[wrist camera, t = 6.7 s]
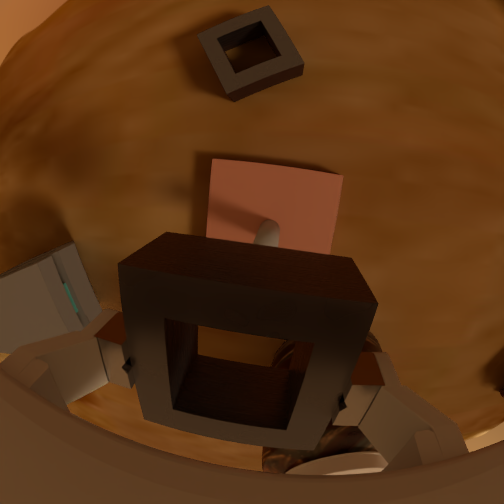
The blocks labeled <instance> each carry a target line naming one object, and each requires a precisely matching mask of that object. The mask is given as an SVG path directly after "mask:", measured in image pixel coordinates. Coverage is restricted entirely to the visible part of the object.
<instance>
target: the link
mask: <svg viewBox="0 0 504 504" xmlns="http://www.w3.org/2000/svg"><path fill="white" fill-rule="evenodd" d="M118 273H119V284H120V294H121V303H122V311H123V319H124V326H125V332H126V338H127V343H128V348H129V353H130V361H131V366H132V369H133V374H134V378H135V385H136V389H137V393H138V397H139V401H140V405H141V409H142V413H143V416H144V419H145V420H148V421H151V422H155V423H158V424H161V425H164V426H168V427H171V428H175V429H178V430H182V431H186V432H190V433H194V434H198V435H202V436H206V437H211V438H216V439H221V440H226V441H231V442H237V443H243V444H250V445H257V446H265V447H273V448H283V449H296V450H314V449H315V448H316V446H317V444H318V442H319V440H320V439H321V437H322V435H323V433H324V431H325V429H326V427H327V426H328V424H329V422H330V420H331V418H332V416H333V414H334V411H335V409H336V407H337V405H338V404H339V402H340V399H341V397H342V395H343V392H344V390H345V388H346V386H347V384H348V381H349V379H350V377H351V375H352V373H353V370H354V368H355V366H356V363H357V361H358V358H359V356H360V353H361V351H362V348H363V346H364V343H365V340H366V338H367V335H368V332H369V330H370V327H371V324H372V321H373V318H374V315H375V312H376V309H377V306H378V302H377V300H376V298H375V297H374V295H373V293H372V291H371V290H370V288H369V286H368V285H367V283H366V281H365V279H364V278H363V276H362V274H361V273H360V271H359V269H358V268H357V266H356V264H355V263H354V261H353V259H352V258H348V257H342V256H335V255H328V254H321V253H314V252H308V251H301V250H294V249H287V248H280V247H273V246H266V245H259V244H252V243H244V242H237V241H230V240H223V239H216V238H208V237H201V236H194V235H186V234H179V233H171V232H165V233H164V234H162V235H161V236H159V237H158V238H156V239H154V240H153V241H151V242H150V243H148V244H147V245H145V246H144V247H142V248H141V249H139V250H137V251H136V252H134V253H133V254H131V255H130V256H128V257H127V258H125V259H124V260H123V261H121V262H120V263H118ZM198 325H201V326H206V327H211V328H216V329H222V330H227V331H233V332H239V333H245V334H251V335H258V336H264V337H271V338H278V339H286V340H294V341H296V343H295V347H294V351H293V355H292V359H291V363H290V367H289V370H288V369H280V368H272V367H265V366H258V365H252V364H246V363H240V362H234V361H228V360H223V359H218V358H213V357H208V356H203V355H198Z"/></svg>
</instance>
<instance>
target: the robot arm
mask: <svg viewBox="0 0 504 504" xmlns="http://www.w3.org/2000/svg"><path fill="white" fill-rule="evenodd" d="M108 381H109V382H111V383H114V384H117V385H120V386H123V387H126V388H130V389H131V388H132V387H133V385H134V383H135V378H134V374H133V369H132V366H131V361H130V353H129V348H128V343H127V338H126V332H125V326H124V319H123V312H119V311H116V310H112V309H105V310H103V311H102V312H101V313H100V314H99V315H98V316H97V317H96V318H95V319H94V320H92V321H91V322H90V323H89V324H88V325H87V326H86V327H85V328H84V329H83V330H82V331H81V332H80V331H73V332H70V333H66V334H63V335H59V336H56V337H52V338H48V339H45V340H41V341H38V342H34V343H30V344H26V345H23V346H20V347H18V348H17V349H16V350H15V351H14V352H13V353H12V354H10V355H9V356H8V357H7V358H6V359H5V360H4V361H3V362H1V363H0V504H504V440H503V441H500V442H498V443H495V444H492V445H490V446H487V447H484V448H481V449H479V450H476V451H473V452H470V453H469V451H468V449H467V447H466V444H465V442H464V439H463V437H462V435H461V432H460V430H459V428H458V426H457V424H456V423H455V422H454V421H452V420H451V419H450V418H448V417H447V416H446V415H444V414H443V413H442V412H440V411H439V410H437V409H436V408H435V407H433V406H432V405H431V404H429V403H428V402H427V401H425V400H424V399H423V398H421V397H420V396H419V395H417V394H416V393H415V392H413V391H412V390H411V389H409V388H408V387H407V386H401V383H400V381H399V378H398V376H397V373H396V371H395V369H394V366H393V364H392V362H391V359H390V357H389V355H388V354H387V353H386V352H371V353H370V352H361V353H360V356H359V358H358V361H357V363H356V366H355V368H354V370H353V373H352V375H351V377H350V379H349V381H348V384H347V386H346V388H345V390H344V392H343V395H342V397H341V399H340V402H339V404H338V405H337V407H336V409H335V411H334V414H333V416H332V424H333V425H341V426H358V428H359V429H360V430H361V431H362V432H363V434H364V435H365V436H366V437H367V439H368V440H369V441H370V442H371V443H372V445H373V446H374V447H375V448H376V449H377V451H378V452H379V453H380V454H381V456H382V457H383V458H384V459H385V460H386V462H387V463H388V465H387V466H386V467H385V468H384V469H383V470H382V471H381V472H373V473H361V474H345V475H299V474H282V473H270V472H261V471H253V470H246V469H239V468H233V467H227V466H222V465H216V464H212V463H207V462H202V461H198V460H194V459H190V458H186V457H182V456H179V455H175V454H171V453H168V452H165V451H161V450H158V449H155V448H152V447H149V446H146V445H143V444H140V443H138V442H135V441H132V440H130V439H127V438H124V437H122V436H119V435H117V434H115V433H112V432H110V431H107V430H105V429H103V428H101V427H98V426H96V425H94V424H92V423H90V422H88V421H86V420H84V419H82V418H80V417H78V416H76V415H74V414H72V413H70V411H69V409H68V407H67V404H69V403H71V402H73V401H75V400H77V399H79V398H81V397H83V396H84V395H86V394H88V393H90V392H92V391H94V390H96V389H98V388H100V387H101V386H103V385H105V384H107V383H108Z"/></svg>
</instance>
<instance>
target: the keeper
mask: <svg viewBox="0 0 504 504" xmlns="http://www.w3.org/2000/svg"><path fill="white" fill-rule="evenodd" d="M342 182H343V176H342V175H338V174H333V173H327V172H321V171H315V170H309V169H302V168H296V167H289V166H281V165H274V164H265V163H257V162H248V161H238V160H227V159H212V168H211V179H210V191H209V203H208V217H207V232H206V237H208V238H216V239H223V240H230V241H237V242H244V243H252V244H259V245H266V246H273V247H280V248H287V249H294V250H301V251H308V252H314V253H321V254H328V255H330V250H331V245H332V240H333V234H334V229H335V224H336V218H337V212H338V207H339V201H340V194H341V188H342Z"/></svg>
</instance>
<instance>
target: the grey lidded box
mask: <svg viewBox="0 0 504 504" xmlns="http://www.w3.org/2000/svg"><path fill="white" fill-rule="evenodd" d="M101 312H102V309H101V307H100V305H99V302H98V300H97V298H96V296H95V294H94V291H93V289H92V287H91V284H90V282H89V280H88V277H87V275H86V272H85V270H84V268H83V265H82V262H81V260H80V257H79V255H78V252H77V249H76V246H75V244H74V241H71V242H69V243H66V244H64V245H62V246H59V247H57V248H55V249H52V250H50V251H48V252H45V253H43V254H41V255H38V256H36V257H34V258H32V259H29V260H27V261H25V262H23V263H21V264H19V265H17V266H15V267H13V268H11V269H10V270H8V271H6V272H4V273H2V274H0V352H1V353H8V354H12V353H13V352H14V351H15V350H16V349H17V348H18V347H20V346H23V345H26V344H30V343H34V342H38V341H41V340H45V339H48V338H52V337H56V336H59V335H63V334H66V333H70V332H73V331H80V332H81V331H82V330H83V329H84V328H85V327H86V326H87V325H88V324H89V323H90V322H91V321H92V320H94V319H95V318H96V317H97V316H98V315H99V314H100V313H101Z"/></svg>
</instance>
